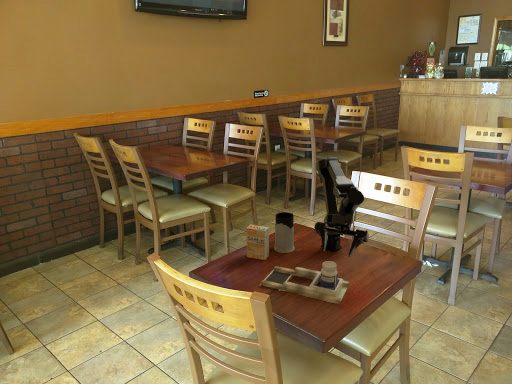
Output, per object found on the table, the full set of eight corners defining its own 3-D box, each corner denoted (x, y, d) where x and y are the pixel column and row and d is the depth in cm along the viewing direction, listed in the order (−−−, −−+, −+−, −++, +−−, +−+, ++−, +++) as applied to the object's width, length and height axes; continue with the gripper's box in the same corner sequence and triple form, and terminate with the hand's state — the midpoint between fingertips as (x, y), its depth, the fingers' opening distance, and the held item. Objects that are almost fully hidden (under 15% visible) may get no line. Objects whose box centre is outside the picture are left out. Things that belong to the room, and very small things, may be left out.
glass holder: (270, 250, 167) (270, 217, 162) (282, 238, 179) (282, 206, 174) (290, 254, 163) (291, 220, 159) (301, 241, 176) (302, 209, 171)
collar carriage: (309, 292, 134) (309, 285, 134) (317, 279, 142) (317, 273, 141) (335, 298, 130) (336, 291, 130) (342, 285, 138) (343, 279, 137)
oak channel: (261, 285, 140) (260, 277, 139) (275, 269, 151) (275, 262, 150) (339, 304, 128) (339, 296, 127) (348, 285, 139) (349, 277, 138)
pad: (316, 296, 133) (316, 295, 133) (324, 282, 141) (324, 282, 141) (340, 301, 130) (340, 301, 130) (347, 287, 138) (347, 287, 138)
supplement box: (246, 257, 161) (245, 227, 157) (250, 252, 165) (250, 223, 161) (265, 261, 158) (265, 230, 154) (269, 256, 162) (269, 226, 158)
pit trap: (259, 286, 140) (259, 285, 140) (275, 268, 152) (275, 267, 152) (279, 291, 136) (279, 289, 136) (294, 272, 148) (294, 271, 148)
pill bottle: (326, 283, 140) (327, 258, 137) (340, 289, 136) (341, 263, 133) (316, 290, 136) (317, 264, 133) (330, 296, 132) (331, 269, 129)
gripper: (316, 200, 142) (305, 240, 136) (369, 208, 134) (360, 250, 128) (322, 214, 151) (312, 252, 145) (372, 221, 143) (363, 262, 137)
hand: (335, 254), depth 139 cm, fingers open, 9 cm apart
